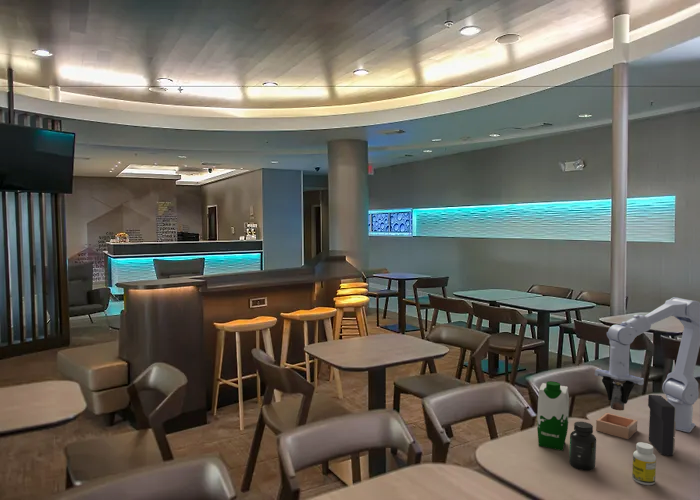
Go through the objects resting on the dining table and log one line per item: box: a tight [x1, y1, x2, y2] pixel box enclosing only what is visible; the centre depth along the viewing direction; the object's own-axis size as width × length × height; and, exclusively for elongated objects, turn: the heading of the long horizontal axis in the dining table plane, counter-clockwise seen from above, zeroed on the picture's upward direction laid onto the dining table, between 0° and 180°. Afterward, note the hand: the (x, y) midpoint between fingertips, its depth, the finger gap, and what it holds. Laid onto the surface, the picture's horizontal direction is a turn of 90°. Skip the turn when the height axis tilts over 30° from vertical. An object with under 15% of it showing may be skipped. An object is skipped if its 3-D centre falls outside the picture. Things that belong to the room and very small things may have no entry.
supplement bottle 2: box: [631, 441, 657, 486], centre depth 138 cm, size 5×5×10 cm
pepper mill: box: [610, 382, 625, 411], centre depth 171 cm, size 4×4×9 cm
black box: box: [647, 394, 676, 457], centre depth 158 cm, size 11×4×15 cm, turn 168°
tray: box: [595, 412, 638, 440], centre depth 171 cm, size 10×10×4 cm
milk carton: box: [536, 381, 570, 451], centre depth 160 cm, size 9×9×20 cm
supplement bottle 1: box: [568, 421, 597, 472], centre depth 146 cm, size 7×7×12 cm
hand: (617, 401), depth 171 cm, fingers closed on pepper mill, 4 cm apart
